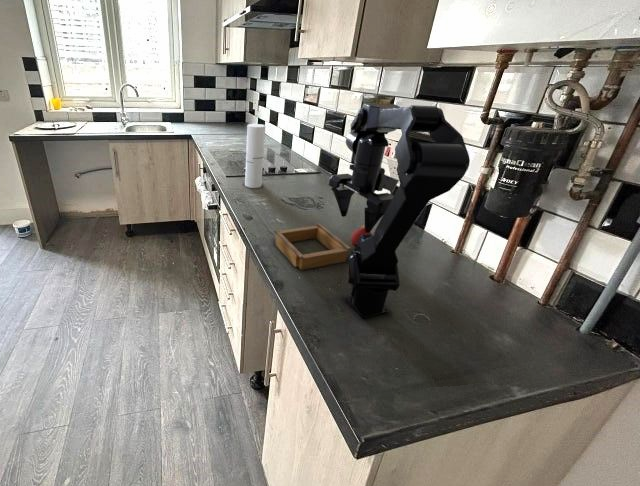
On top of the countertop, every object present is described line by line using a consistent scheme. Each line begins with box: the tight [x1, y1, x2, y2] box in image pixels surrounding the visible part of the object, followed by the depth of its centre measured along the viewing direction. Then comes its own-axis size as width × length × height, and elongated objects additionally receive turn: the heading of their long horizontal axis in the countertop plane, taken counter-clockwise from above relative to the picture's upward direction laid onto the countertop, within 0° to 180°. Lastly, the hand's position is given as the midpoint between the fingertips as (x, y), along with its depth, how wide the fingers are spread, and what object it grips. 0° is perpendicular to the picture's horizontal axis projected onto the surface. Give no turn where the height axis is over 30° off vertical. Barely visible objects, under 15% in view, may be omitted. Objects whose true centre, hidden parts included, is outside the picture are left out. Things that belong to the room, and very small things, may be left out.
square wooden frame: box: [273, 222, 352, 271], centre depth 89 cm, size 15×15×4 cm
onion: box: [350, 224, 373, 248], centre depth 89 cm, size 6×6×8 cm
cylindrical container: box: [244, 123, 266, 189], centre depth 133 cm, size 7×7×25 cm
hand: (355, 224), depth 79 cm, fingers open, 9 cm apart
